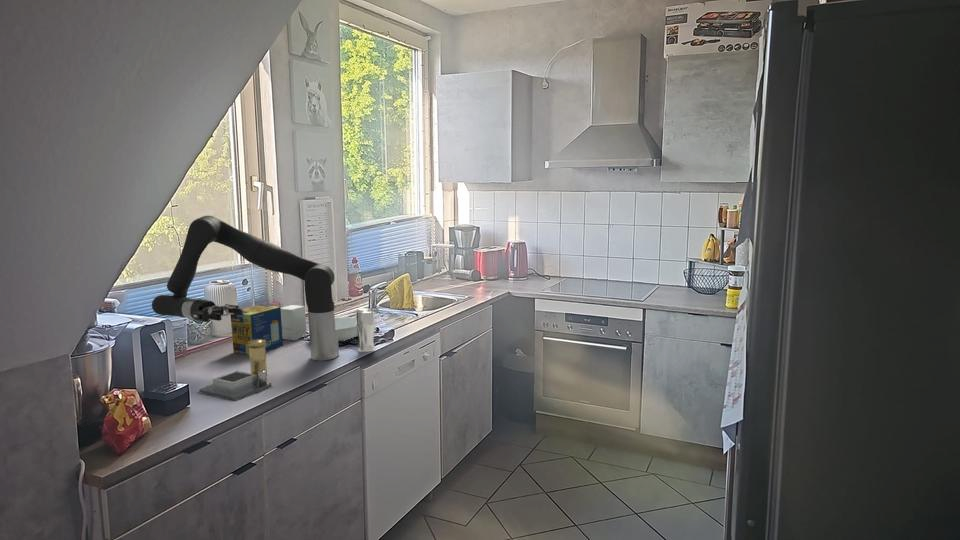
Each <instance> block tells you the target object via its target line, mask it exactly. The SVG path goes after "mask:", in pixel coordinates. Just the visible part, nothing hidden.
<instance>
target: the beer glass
mask: <svg viewBox="0 0 960 540" xmlns="http://www.w3.org/2000/svg"><path fill="white" fill-rule="evenodd" d="M374 311H375V310H374V309H371V308H360V309H357V310H355V318H356V329H357V334H358V336H357V337H358V349H357V350H358V352H360V353H371V352H374V351H375V350H376V348H375V344H374V336H375V335H374V334H375V324H376V320H375V313H374Z"/></svg>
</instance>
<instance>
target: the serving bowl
mask: <svg viewBox="0 0 960 540" xmlns="http://www.w3.org/2000/svg"><path fill="white" fill-rule="evenodd" d="M335 327H336V329H337V330H338V341H343V342H345V341H344V340H347V341H349V340H352V339H354V337H355V338H356V337H358V334H357V329H356V317H352V316H351V317H350V316H346V317H345V316H342V317H341V316H339V317H335ZM351 338H352V339H351ZM348 339H349V340H348Z"/></svg>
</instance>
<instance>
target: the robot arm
mask: <svg viewBox="0 0 960 540" xmlns="http://www.w3.org/2000/svg"><path fill="white" fill-rule="evenodd" d="M213 242H214V243H218V244H219V245H220V244H221V245H222V246H224V247H228V248H231V249H232V250H234V252H237V254H239V255H240V256H241V257H242V258H243V259H244V260H245V261H247V262H249V263H251V264H253V265H255V266H257V267H260V268H262V269H264V270H268V271H271V272H276V273H280V274H285V275H286V274H287V275H289V276H290V275H291V276H293V277H296V278H298V279H300V280H302V281H303V283H304V284H303V287H304V294H305V304H306V306H307V317H308V331H309V332H308V333H309V347H310V348H309V349H310V350H309V351H310V360H314V361H329V360H332V359H335V358H337V356H339V355H340V350H339V342H338V330H337V329H336V327H335V318H336V314H335V302H334V300H333V293H332V292H333V291H332V285H333V283H334V282H335V279H336V278H335V273H334V271H333V269H331V268H330V266H328V265H326V264H323V263H321V262H317V261H313V260H310V259H307V258H304V257H302V256H299V255H297V254H295V253H293V252H292V251H290V250H287V249H285V248H283V247H281V246H279V245H278V244H277V245H276V243H273V242H270V241H268V240H265V239H263V238H261V237H258V236H255V235H253V234H251V233H248V232H246V231H242V230H241V229H238V228H236V227H234V226H232V225H230V224H228V223H227V222H225V221H223V220H222V219H220V218H218V217H216V216H214V215H203V216H201V217H198V218H196V219H194V220H192V222H191V223H190V225H189V227H188V230H187V233H186V238H185V241H184V245H183V247H182V250H181V253H180V256H179V257H178V261H177V263H176V265H175V267H174V269H173V270H172V273H171V275H170V277H169V279H168V281H167V284H166V289H167V290H168V291H169V293H172V294H171V295H169V294H160V295H157V296H155V297H154V299H152V302H151V309H152V310H153V312H154V313H155V314H157V315H159V316H170V317H179V318H183V319H189V320H192V321H197V322H202V323H203V322H204V323H208V322H211V321H218V322H219V321H220V322H221V321H222V317H228V316H229V315H230V314H233V315H243V311H242V309H243V308H239V305H237V304H229V303H228V304H227V303H225V304H224V305H219V304H215V302H214V301H213V300H209V299H205V298H196V297H195V298H192V297H188V296H187V295H188V290H189V288H190V286H191V284H192V283H193V281H194V279H195V276H196V273H197V267H198V263H199V261H200V258H201V256H202V255H203V253H204V251H205V249H206V248H207V247H208V245H209V244H211V243H213ZM230 316H231V315H230Z"/></svg>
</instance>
